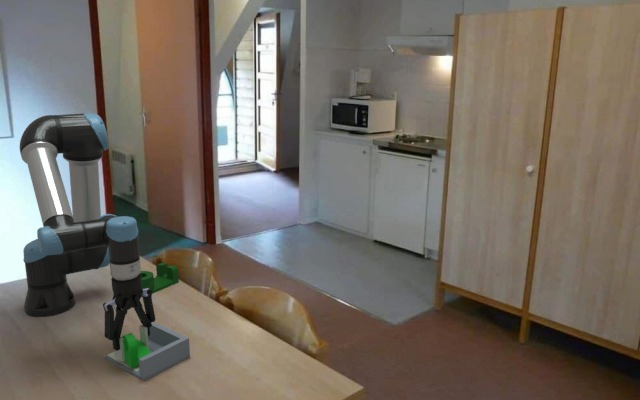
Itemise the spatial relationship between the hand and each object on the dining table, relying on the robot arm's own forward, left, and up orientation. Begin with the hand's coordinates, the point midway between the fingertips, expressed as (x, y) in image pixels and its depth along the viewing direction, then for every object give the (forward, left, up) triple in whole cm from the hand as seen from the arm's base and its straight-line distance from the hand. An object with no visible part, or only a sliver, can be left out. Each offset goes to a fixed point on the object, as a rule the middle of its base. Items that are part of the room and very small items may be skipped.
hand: (133, 353), depth 149 cm
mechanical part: (0, 0, -1) cm, 1 cm away
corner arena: (+2, +3, -2) cm, 4 cm away
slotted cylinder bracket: (-38, +33, -2) cm, 51 cm away
